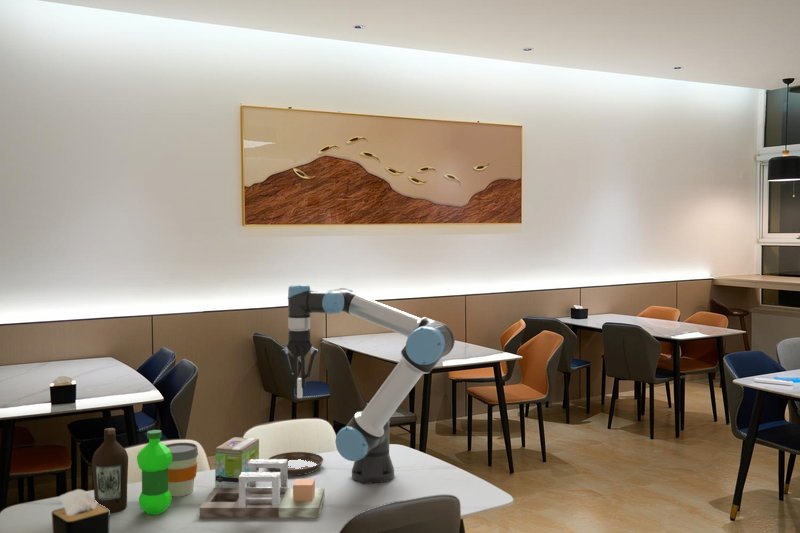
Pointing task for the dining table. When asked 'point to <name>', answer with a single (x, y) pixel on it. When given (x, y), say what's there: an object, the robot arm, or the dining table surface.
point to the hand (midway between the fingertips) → (299, 397)
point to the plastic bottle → (154, 474)
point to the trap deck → (258, 505)
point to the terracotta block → (303, 490)
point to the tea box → (234, 461)
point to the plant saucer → (296, 456)
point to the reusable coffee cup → (182, 468)
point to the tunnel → (263, 477)
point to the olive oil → (110, 473)
